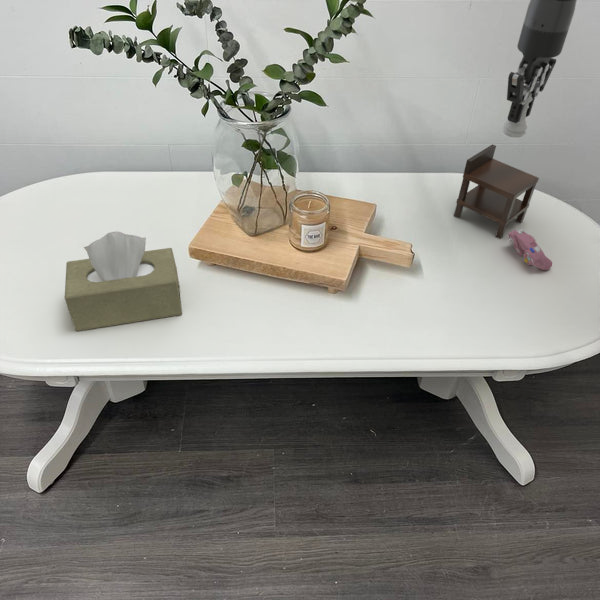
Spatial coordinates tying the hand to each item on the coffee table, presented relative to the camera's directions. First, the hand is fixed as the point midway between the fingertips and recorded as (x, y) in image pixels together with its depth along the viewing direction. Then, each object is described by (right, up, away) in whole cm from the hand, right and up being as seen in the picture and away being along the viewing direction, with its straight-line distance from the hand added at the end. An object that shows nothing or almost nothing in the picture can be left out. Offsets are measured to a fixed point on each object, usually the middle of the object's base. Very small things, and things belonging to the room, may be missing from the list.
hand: (518, 117), depth 110 cm
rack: (0, -17, +17) cm, 24 cm away
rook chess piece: (0, -2, +2) cm, 3 cm away
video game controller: (+4, -27, +7) cm, 28 cm away
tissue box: (-73, -36, -6) cm, 82 cm away
